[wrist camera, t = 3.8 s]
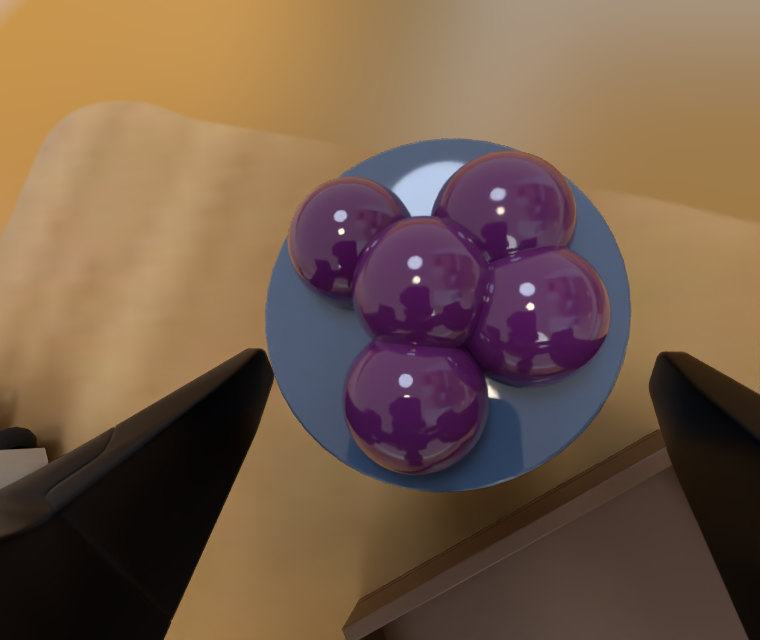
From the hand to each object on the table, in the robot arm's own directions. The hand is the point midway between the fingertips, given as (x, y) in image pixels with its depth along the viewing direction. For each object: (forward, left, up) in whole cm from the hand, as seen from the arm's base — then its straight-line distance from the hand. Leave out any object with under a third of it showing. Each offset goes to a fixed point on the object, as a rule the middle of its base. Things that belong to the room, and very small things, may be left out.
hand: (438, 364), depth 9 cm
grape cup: (+1, -1, -9) cm, 9 cm away
